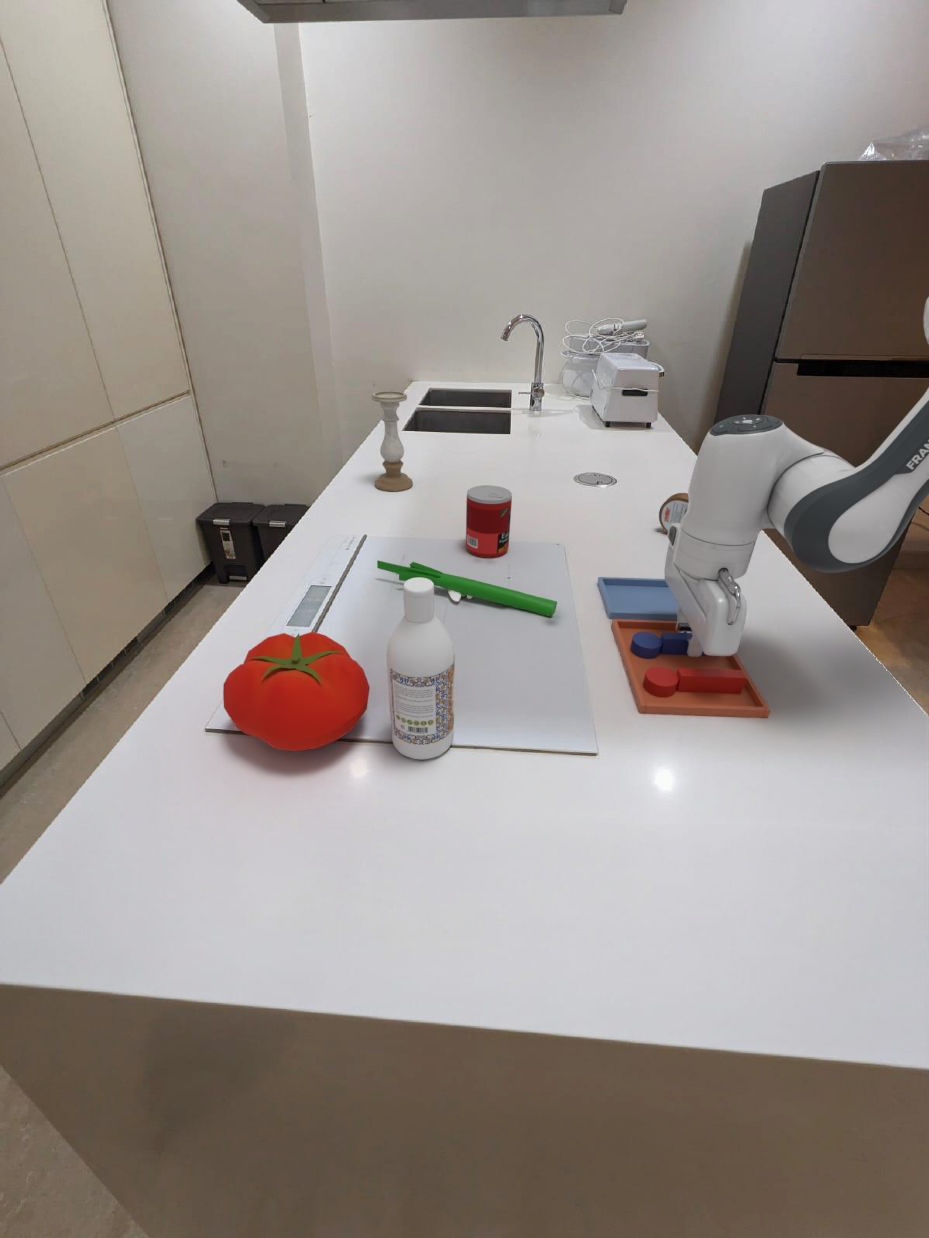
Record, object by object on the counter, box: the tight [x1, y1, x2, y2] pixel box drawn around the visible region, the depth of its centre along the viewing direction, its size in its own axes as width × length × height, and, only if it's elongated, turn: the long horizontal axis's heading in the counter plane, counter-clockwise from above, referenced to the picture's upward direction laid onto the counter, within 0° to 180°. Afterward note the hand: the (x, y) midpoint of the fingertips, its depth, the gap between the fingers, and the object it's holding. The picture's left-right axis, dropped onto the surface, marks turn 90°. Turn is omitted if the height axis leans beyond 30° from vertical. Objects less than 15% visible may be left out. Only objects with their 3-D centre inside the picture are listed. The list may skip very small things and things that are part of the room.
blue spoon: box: [630, 632, 709, 659], centre depth 79 cm, size 12×4×3 cm, turn 88°
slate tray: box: [596, 576, 678, 621], centre depth 91 cm, size 15×11×2 cm
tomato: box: [222, 631, 370, 752], centre depth 65 cm, size 14×16×10 cm
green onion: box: [376, 560, 558, 618], centre depth 91 cm, size 5×3×30 cm
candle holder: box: [371, 390, 414, 492], centre depth 130 cm, size 9×9×20 cm
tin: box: [658, 492, 689, 534], centre depth 110 cm, size 15×3×8 cm, turn 51°
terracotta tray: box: [610, 619, 771, 719], centre depth 77 cm, size 15×19×2 cm
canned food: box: [465, 484, 513, 559], centre depth 104 cm, size 8×8×11 cm
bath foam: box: [386, 577, 456, 760], centre depth 60 cm, size 7×7×20 cm
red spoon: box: [643, 666, 746, 697], centre depth 73 cm, size 12×4×3 cm, turn 88°
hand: (687, 643), depth 79 cm, fingers open, 3 cm apart
